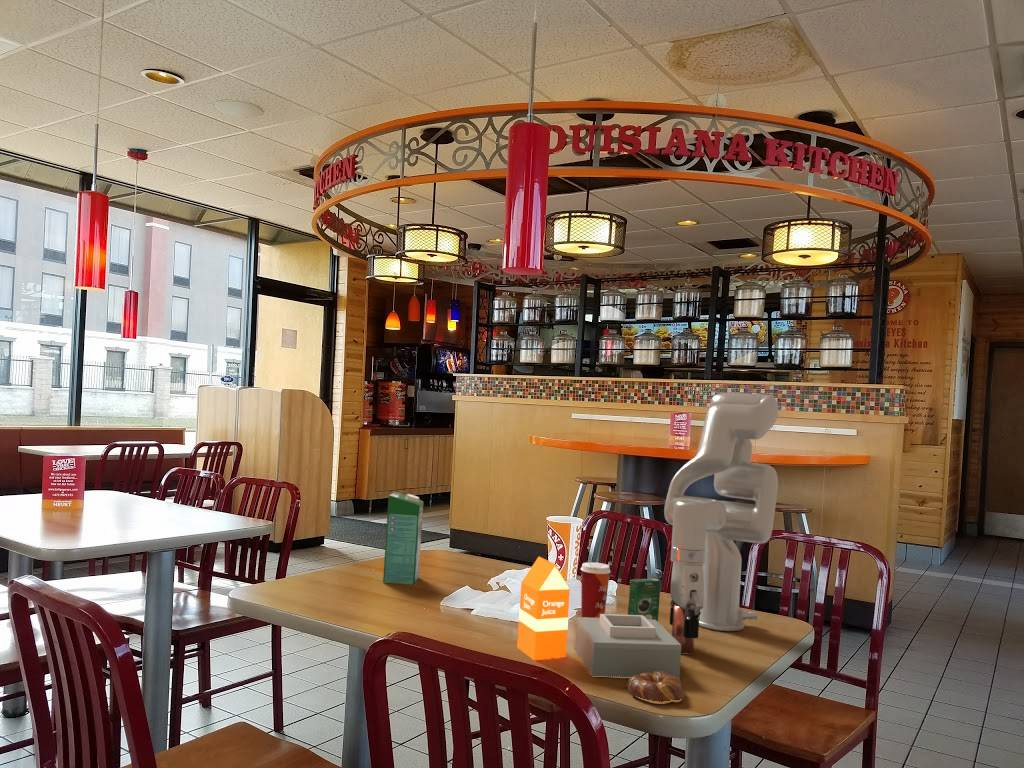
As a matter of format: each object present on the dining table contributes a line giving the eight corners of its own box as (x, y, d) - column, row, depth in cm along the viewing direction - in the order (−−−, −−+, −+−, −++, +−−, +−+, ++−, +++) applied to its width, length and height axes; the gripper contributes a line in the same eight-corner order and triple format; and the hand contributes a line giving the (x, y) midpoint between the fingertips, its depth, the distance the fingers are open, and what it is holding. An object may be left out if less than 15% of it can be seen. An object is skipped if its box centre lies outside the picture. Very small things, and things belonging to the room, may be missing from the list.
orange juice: (533, 660, 166) (539, 565, 166) (516, 647, 174) (522, 556, 175) (566, 657, 169) (572, 564, 170) (548, 644, 177) (553, 555, 178)
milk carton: (414, 584, 225) (420, 496, 226) (382, 582, 225) (388, 494, 226) (418, 577, 234) (424, 493, 235) (388, 575, 234) (393, 491, 235)
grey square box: (653, 650, 178) (655, 610, 178) (679, 679, 160) (682, 635, 160) (574, 648, 176) (577, 608, 176) (591, 677, 158) (594, 632, 158)
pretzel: (631, 681, 158) (632, 662, 158) (686, 690, 155) (687, 671, 155) (621, 701, 147) (623, 680, 147) (681, 711, 144) (682, 690, 144)
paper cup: (606, 626, 195) (610, 569, 195) (575, 622, 196) (579, 566, 197) (609, 618, 202) (612, 563, 203) (579, 614, 204) (582, 560, 204)
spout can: (689, 647, 182) (692, 598, 182) (696, 654, 177) (699, 604, 177) (668, 646, 181) (671, 597, 182) (675, 653, 176) (678, 603, 177)
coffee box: (650, 630, 194) (653, 576, 194) (658, 633, 192) (661, 579, 192) (625, 633, 190) (628, 579, 190) (633, 637, 187) (636, 581, 187)
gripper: (717, 564, 172) (713, 643, 171) (691, 548, 189) (686, 620, 188) (684, 562, 171) (679, 642, 170) (660, 547, 188) (656, 619, 187)
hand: (683, 631), depth 179 cm, fingers open, 9 cm apart
